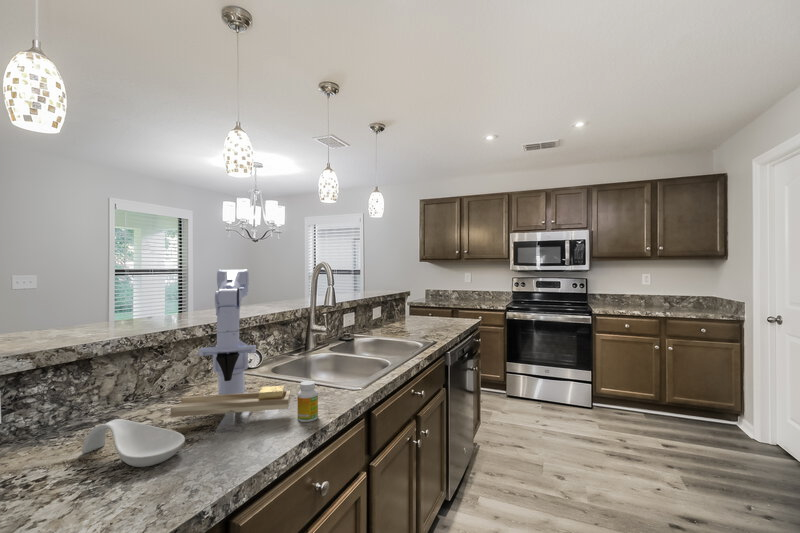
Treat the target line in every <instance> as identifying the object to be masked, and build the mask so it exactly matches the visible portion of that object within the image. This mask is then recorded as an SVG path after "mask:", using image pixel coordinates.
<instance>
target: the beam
mask: <svg viewBox="0 0 800 533" xmlns="http://www.w3.org/2000/svg"><path fill="white" fill-rule="evenodd" d="M291 393H292V392H291V390H290V389H287V390H286V389H284V399H270V400H259V391H256V392H255V391H253V392H248V393H235V394H220V395H218V394H206V395H195V396H194V395H191V396H188V395H187V396H182V397H181V398H180V400H181V402H180V403H179V404H178V405H172V406H171V407H170V418H176V417H177V418H179V417H181V418H182V417H190V416H193V417H194V416H205V415H206V416H207V415H219V414H225V413H226V412H227V411H235V412H249V411H251V412H260V411H272V410H288V409H289V406H290V402H291V397H292V396H291Z"/></svg>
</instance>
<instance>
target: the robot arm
mask: <svg viewBox="0 0 800 533" xmlns="http://www.w3.org/2000/svg"><path fill="white" fill-rule="evenodd" d="M249 276H250V274H249V270H248V269H247V268H245V269H218V270H217V271H216V286H217V290H215V293H214V306H215V315H216V345H215V346H210V347H201V348H199V349H198V356H199V357H205V356H212V369H213V372H215V373H217V375H218V377H217V378H218V379H217V380H218V381H217V382H218V383H217V385H218V387H217V389H218V390H217V395H220V394H235V393H249V392H246V389H245V388H246V382H245V381H246V377H245V376H246V375H245V370H247V369H248V368H249V354H250V353H251V354H256V353H257V344H252V345H251V344H247V343H245V342H243V341H242V340H240V311H241V305H242V299H243V298H244V297H246V296H248V292H249V285H250V283H249V281H250V280H249V279H250V278H249Z"/></svg>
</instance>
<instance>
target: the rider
mask: <svg viewBox="0 0 800 533" xmlns="http://www.w3.org/2000/svg"><path fill="white" fill-rule="evenodd" d="M284 390H285V385H275V386H274V385H272V386H261V387H260V389H259V391H258V392H259V400H270V399H284Z"/></svg>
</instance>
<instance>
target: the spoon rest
mask: <svg viewBox="0 0 800 533" xmlns="http://www.w3.org/2000/svg"><path fill="white" fill-rule="evenodd" d="M107 430H110V432H111V434H112V439H113V444H114V448H115V451H116V453H117V455H118V456H119V458H120V460H121V461H123V462H124V463H125V464H127V465H129V466H132V467H136V468H147V467H151V466H154V465H157V464H158V465H159V464H161V463H163V462H165V461H167V460H169V459H170V458H172V457H173V456H174V455H176V454H177V452H178V451H180V450H181V448H182V447H183V446H184V444H185V442H186V437H185V436H184V435H183V434H182V433H181V432H178V431H175V430H172V429H168V428H162V427H157V426H153V425H150V424H147V423H146V424H145V423H143V422H142V423H141V422H137V421H133V420H129V419H123V418H115V419H111V420H110V421H108V422H106V423H101V424H99V425H96V426H94V427H93V428H92V429H91V430H90V431H89V432H88V434H87V435H86V437H85V439H84V441H83V443H82V449H81V453H82V454H89V453H91V452H93V450H94V451H96V450H98V449H99V448H103V447H104V446H105V445H106V435H107V434H106V433H107ZM146 466H147V467H146Z"/></svg>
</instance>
